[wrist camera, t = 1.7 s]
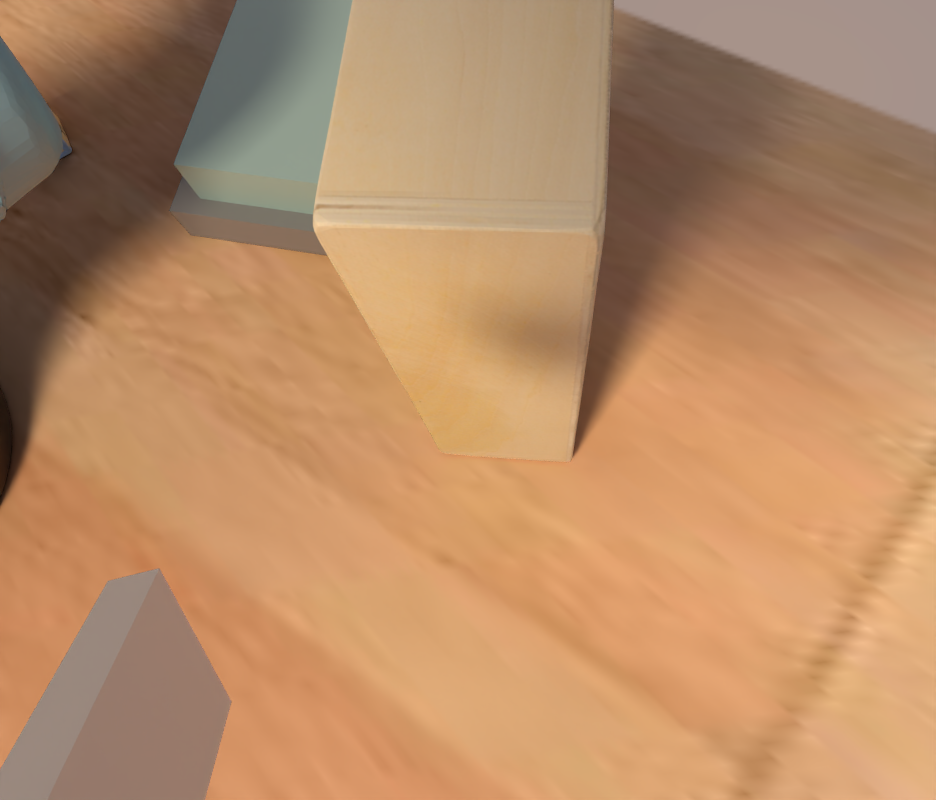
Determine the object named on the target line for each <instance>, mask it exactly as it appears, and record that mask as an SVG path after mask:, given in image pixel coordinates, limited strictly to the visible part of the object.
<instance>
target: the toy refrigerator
mask: <svg viewBox="0 0 936 800" xmlns="http://www.w3.org/2000/svg"><path fill="white" fill-rule="evenodd" d="M613 11H614V0H352V5H351V11H350V16H349V21H348V27H347V32H346V38H345V43H344V48H343V54H342V59H341V64H340V70H339V75H338V81H337V86H336V91H335V97H334V102H333V107H332V113H331V118H330V123H329V128H328V134H327V139H326V144H325V149H324V154H323V159H322V164H321V169H320V175H319V180H318V186H317V191H316V197H315V204H314V210H313V228H314V231H315V234H316V236H317V238H318V240H319V242H320V243H321V245H322V247H323V249H324V250H325V252H326V254H327V256H328V257H329V259H330V261H331V262H332V264H333V266H334V267H335V269H336V271H337V273H338V274H339V276H340V277H341V279H342V281H343V283H344V284H345V286H346V288H347V290H348V291H349V293H350V295H351V297H352V299H353V300H354V302H355V304H356V306H357V307H358V309H359V311H360V313H361V314H362V316H363V318H364V320H365V321H366V323H367V325H368V327H369V328H370V330H371V332H372V334H373V335H374V337H375V339H376V341H377V342H378V344H379V345H380V347H381V349H382V351H383V352H384V354H385V356H386V357H387V359H388V361H389V362H390V364H391V366H392V368H393V370H394V371H395V373H396V375H397V376H398V378H399V380H400V381H401V383H402V385H403V387H404V388H405V390H406V392H407V393H408V395H409V397H410V398H411V400H412V402H413V404H414V406H415V407H416V409H417V411H418V413H419V414H420V416H421V418H422V420H423V422H424V423H425V425H426V427H427V429H428V430H429V432H430V434H431V436H432V438H433V440H434V441H435V443H436V445H437V447H438V449H439V450H440V451H441V452H443V453H447V454H456V455H466V456H479V457H494V458H509V459H524V460H539V461H555V462H570V461H571V460H572V457H573V451H574V444H575V436H576V430H577V423H578V417H579V410H580V404H581V397H582V390H583V383H584V375H585V368H586V361H587V354H588V347H589V341H590V334H591V327H592V319H593V312H594V304H595V297H596V289H597V283H598V276H599V270H600V263H601V257H602V249H603V242H604V234H605V221H606V204H607V179H608V151H609V123H610V95H611V67H612V39H613Z"/></svg>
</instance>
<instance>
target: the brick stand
mask: <svg viewBox="0 0 936 800" xmlns="http://www.w3.org/2000/svg"><path fill="white" fill-rule="evenodd" d="M351 5H352V0H237V1H236V4H235V6H234V9H233V12H232V14H231V17H230V19H229V22H228V25H227V27H226V30H225V32H224V35H223V37H222V40H221V43H220V45H219V48H218V50H217V53H216V56H215V58H214V61H213V63H212V66H211V69H210V71H209V74H208V76H207V79H206V81H205V84H204V87H203V89H202V92H201V94H200V97H199V100H198V102H197V105H196V107H195V110H194V112H193V115H192V118H191V120H190V123H189V125H188V128H187V131H186V133H185V136H184V138H183V141H182V143H181V146H180V149H179V151H178V154H177V156H176V159H175V162H174V166H175V167H176V168H177V170H178V171H179V172H180V173H181V175H182V179H181V181H180V184H179V186H178V189H177V192H176V194H175V197H174V200H173V202H172V205H171V207H170V210H169V211H170V212H171V213H172V215H173V216H174V217H175V218H176V219H177V220H178V221H179V222H180V224H181V225H182V226H183V227H184V228H185V229H186V230H187V231H188V233H189V234H190V235H194V236H200V237H207V238H214V239H220V240H227V241H234V242H240V243H247V244H254V245H260V246H267V247H274V248H280V249H287V250H294V251H300V252H307V253H314V254H320V255H327V254H326V252H325V250H324V249H323V247H322V245H321V243H320V242H319V240H318V238H317V236H316V234H315V231H314V228H313V210H314V204H315V197H316V191H317V186H318V180H319V175H320V169H321V164H322V159H323V154H324V149H325V144H326V139H327V134H328V128H329V123H330V118H331V113H332V107H333V102H334V97H335V91H336V86H337V81H338V75H339V70H340V64H341V59H342V54H343V48H344V43H345V38H346V32H347V27H348V21H349V16H350V11H351Z"/></svg>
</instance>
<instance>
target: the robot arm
mask: <svg viewBox="0 0 936 800" xmlns="http://www.w3.org/2000/svg"><path fill="white" fill-rule="evenodd" d="M62 137H63V136H62V133H61V129H60V126H59V124H58V121H57V120H56V118H55V116H54V114H53V113H52V111H51V109H50V108H49V106H48V105H47V103H46V101H45V100H44V98H43V97H42V95H41V94H40V92H39V91H38V89H37V88H36V86H35V85H34V83H33V82H32V80H31V79H30V77H29V76H28V75H27V73H26V72H25V70H24V69H23V67H22V66H21V65H20V63H19V62H18V60H17V59H16V57H15V56H14V55H13V53H12V52H11V50H10V49H9V48H8V46H7V45H6V43H5V42H4V41H3V39H2V38H1V36H0V221H1V220H3V219H4V218H5V216H6V210H7V209H9V208H10V207H11V206H12V205H14V204H15V203H16V202H17V201H18V200H20V199H21V198H22V197H23V196H25V195H26V194H27V193H28V192H30V191H31V190H32V189H33V188H34V187H36V186H37V185H38V184H39V183H41V182H42V181H43V180H44V179H46V178H47V177H48V176H49V175H51V174H52V172H53V171H54V169H55V167H56V166H57V164H58V162H59V159H60V155H61V153H62V148H63V143H62ZM11 447H12V431H11V421H10V415H9V411H8V407H7V404H6V401H5V398H4V395H3V393H2V391H1V389H0V496H1V493H2V490H3V488H4V484H5V481H6V478H7V473H8V469H9V464H10V458H11ZM230 705H231V700H230V698H229V696H228V694H227V693H226V691H225V689H224V687H223V685H222V683H221V681H220V680H219V678H218V676H217V674H216V672H215V670H214V669H213V667H212V665H211V663H210V661H209V659H208V657H207V656H206V654H205V652H204V650H203V648H202V646H201V644H200V643H199V641H198V639H197V637H196V635H195V633H194V632H193V630H192V628H191V626H190V624H189V622H188V620H187V619H186V617H185V615H184V613H183V611H182V609H181V608H180V606H179V604H178V602H177V600H176V598H175V596H174V595H173V593H172V591H171V589H170V587H169V585H168V583H167V582H166V580H165V578H164V576H163V574H162V572H161V571H160V569H155V570H151V571H147V572H143V573H139V574H135V575H130V576H126V577H122V578H118V579H114V580H110V581H108V582H107V584H106V585H105V587H104V589H103V591H102V592H101V594H100V596H99V598H98V599H97V601H96V603H95V605H94V606H93V608H92V610H91V612H90V613H89V615H88V617H87V619H86V620H85V622H84V624H83V626H82V627H81V629H80V631H79V633H78V634H77V636H76V638H75V640H74V641H73V643H72V645H71V647H70V648H69V650H68V652H67V654H66V655H65V657H64V659H63V661H62V662H61V664H60V666H59V668H58V669H57V671H56V673H55V675H54V676H53V678H52V680H51V682H50V683H49V685H48V687H47V689H46V690H45V692H44V694H43V696H42V697H41V699H40V701H39V703H38V704H37V706H36V708H35V710H34V711H33V713H32V715H31V717H30V718H29V720H28V722H27V724H26V725H25V727H24V729H23V731H22V732H21V734H20V736H19V738H18V739H17V741H16V743H15V745H14V746H13V748H12V750H11V752H10V753H9V755H8V757H7V759H6V760H5V762H4V764H3V766H2V767H1V769H0V800H205V797H206V793H207V790H208V786H209V782H210V779H211V775H212V771H213V768H214V764H215V760H216V756H217V753H218V749H219V745H220V742H221V738H222V734H223V731H224V727H225V723H226V720H227V716H228V712H229V709H230Z"/></svg>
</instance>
